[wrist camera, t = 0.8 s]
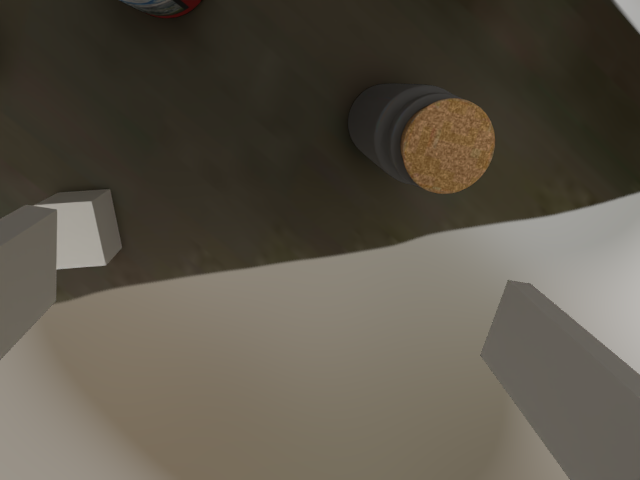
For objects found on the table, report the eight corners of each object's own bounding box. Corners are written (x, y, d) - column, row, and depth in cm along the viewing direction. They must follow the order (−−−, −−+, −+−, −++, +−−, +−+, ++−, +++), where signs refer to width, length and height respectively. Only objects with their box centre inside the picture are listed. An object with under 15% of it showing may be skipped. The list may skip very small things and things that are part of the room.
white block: (58, 192, 36) (33, 205, 33) (110, 188, 37) (91, 201, 33) (73, 250, 38) (51, 269, 34) (122, 247, 38) (105, 265, 35)
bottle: (391, 171, 38) (459, 225, 24) (333, 133, 37) (369, 167, 23) (433, 109, 37) (530, 128, 23) (374, 67, 35) (439, 60, 21)
